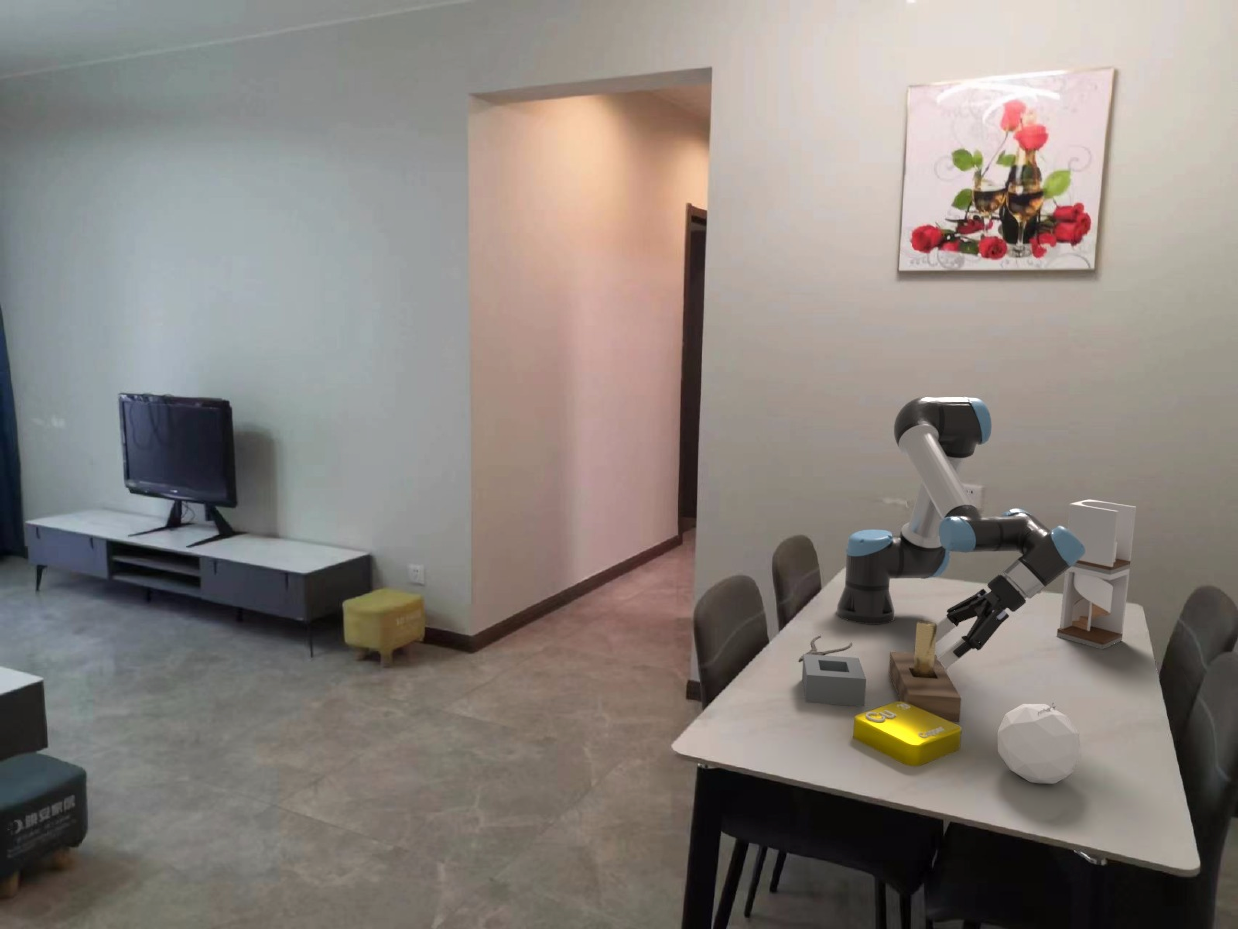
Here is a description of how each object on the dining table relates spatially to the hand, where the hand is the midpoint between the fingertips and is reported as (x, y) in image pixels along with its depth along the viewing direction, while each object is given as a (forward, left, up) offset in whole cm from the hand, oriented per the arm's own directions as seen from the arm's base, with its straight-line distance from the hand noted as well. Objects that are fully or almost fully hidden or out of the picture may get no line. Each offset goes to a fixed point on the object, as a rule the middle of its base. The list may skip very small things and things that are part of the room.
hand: (934, 651), depth 185 cm
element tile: (+22, -9, -11) cm, 26 cm away
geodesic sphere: (+32, +11, -10) cm, 36 cm away
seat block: (+1, -21, -10) cm, 23 cm away
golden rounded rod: (-1, -2, -10) cm, 10 cm away
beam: (-1, -2, -10) cm, 10 cm away
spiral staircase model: (-46, +48, -10) cm, 67 cm away
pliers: (-24, -20, -11) cm, 33 cm away
